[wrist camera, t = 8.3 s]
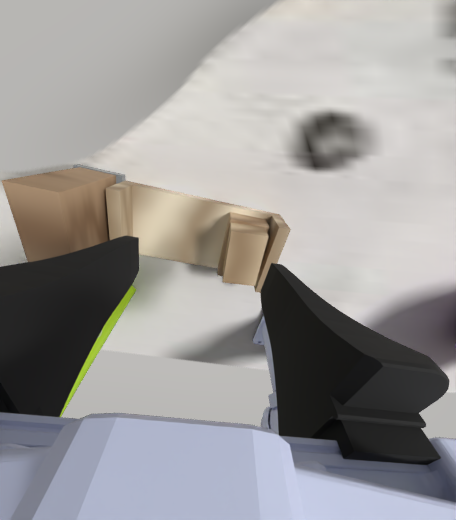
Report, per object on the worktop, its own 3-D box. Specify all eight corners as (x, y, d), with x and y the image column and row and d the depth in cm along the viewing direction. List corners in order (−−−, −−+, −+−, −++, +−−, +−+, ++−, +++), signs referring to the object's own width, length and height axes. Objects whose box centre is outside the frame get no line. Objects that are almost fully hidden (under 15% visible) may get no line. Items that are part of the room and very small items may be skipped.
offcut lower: (265, 219, 19) (269, 227, 18) (248, 270, 22) (250, 280, 21) (230, 211, 19) (230, 218, 17) (218, 264, 22) (217, 275, 20)
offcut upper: (264, 227, 18) (268, 236, 16) (252, 273, 20) (255, 285, 19) (230, 222, 18) (231, 231, 16) (222, 270, 20) (222, 282, 18)
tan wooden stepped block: (279, 214, 20) (290, 229, 17) (259, 271, 24) (264, 293, 20) (125, 180, 18) (102, 189, 15) (127, 247, 22) (109, 266, 18)
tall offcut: (119, 236, 21) (75, 275, 15) (88, 230, 20) (30, 268, 14) (115, 175, 18) (58, 192, 12) (79, 167, 17) (1, 180, 11)
